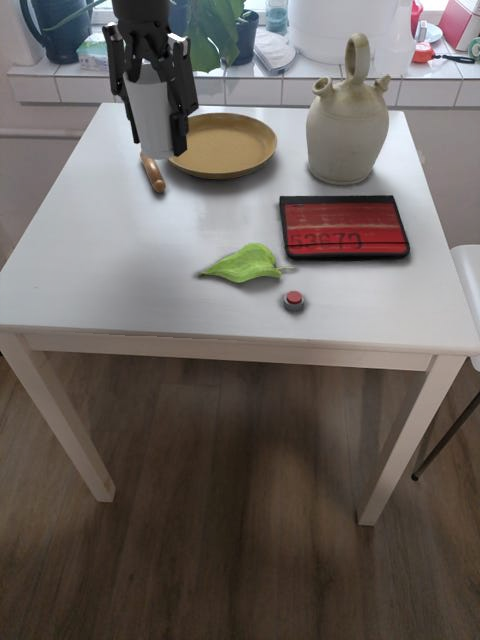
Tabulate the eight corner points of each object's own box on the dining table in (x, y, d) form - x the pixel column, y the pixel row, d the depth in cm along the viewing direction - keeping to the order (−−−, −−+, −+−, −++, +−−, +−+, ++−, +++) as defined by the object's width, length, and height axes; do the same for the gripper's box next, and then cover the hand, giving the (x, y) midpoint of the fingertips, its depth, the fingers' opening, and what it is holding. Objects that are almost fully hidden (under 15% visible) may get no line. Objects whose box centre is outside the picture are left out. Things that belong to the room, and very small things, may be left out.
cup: (182, 162, 78) (175, 85, 69) (133, 162, 78) (118, 85, 69) (187, 137, 83) (180, 62, 74) (140, 137, 83) (127, 62, 74)
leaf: (296, 285, 77) (297, 275, 75) (197, 287, 77) (196, 278, 75) (291, 248, 83) (292, 239, 81) (198, 250, 82) (198, 241, 81)
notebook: (279, 194, 89) (394, 193, 89) (278, 204, 91) (390, 203, 91) (286, 254, 79) (415, 253, 79) (285, 265, 81) (411, 263, 81)
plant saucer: (271, 190, 94) (272, 175, 92) (149, 182, 96) (147, 167, 94) (280, 129, 110) (281, 115, 107) (175, 123, 112) (173, 109, 109)
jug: (298, 187, 95) (312, 48, 76) (304, 147, 105) (317, 15, 86) (378, 194, 93) (413, 54, 74) (376, 152, 103) (406, 20, 84)
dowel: (167, 193, 94) (166, 182, 92) (155, 196, 93) (153, 185, 91) (150, 156, 103) (149, 145, 101) (139, 158, 102) (137, 148, 100)
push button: (284, 310, 73) (285, 303, 72) (282, 296, 75) (283, 289, 74) (304, 309, 73) (305, 303, 72) (302, 295, 75) (303, 288, 74)
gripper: (220, -16, 61) (225, 151, 79) (96, -36, 68) (126, 122, 85) (186, 1, 57) (199, 174, 74) (58, -23, 64) (97, 140, 81)
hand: (160, 146), depth 80 cm, fingers closed on cup, 7 cm apart
